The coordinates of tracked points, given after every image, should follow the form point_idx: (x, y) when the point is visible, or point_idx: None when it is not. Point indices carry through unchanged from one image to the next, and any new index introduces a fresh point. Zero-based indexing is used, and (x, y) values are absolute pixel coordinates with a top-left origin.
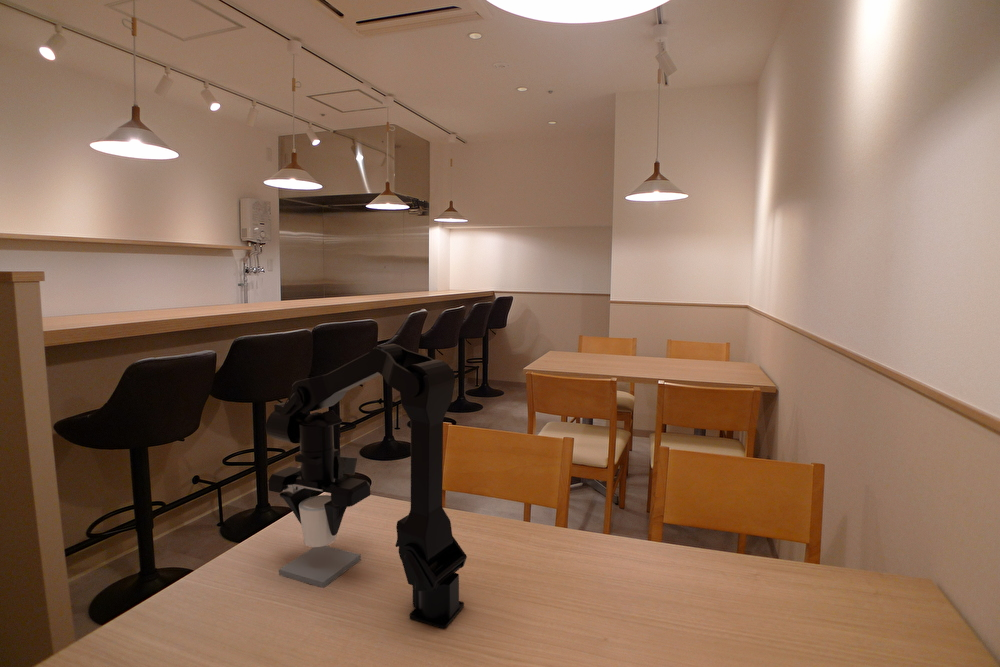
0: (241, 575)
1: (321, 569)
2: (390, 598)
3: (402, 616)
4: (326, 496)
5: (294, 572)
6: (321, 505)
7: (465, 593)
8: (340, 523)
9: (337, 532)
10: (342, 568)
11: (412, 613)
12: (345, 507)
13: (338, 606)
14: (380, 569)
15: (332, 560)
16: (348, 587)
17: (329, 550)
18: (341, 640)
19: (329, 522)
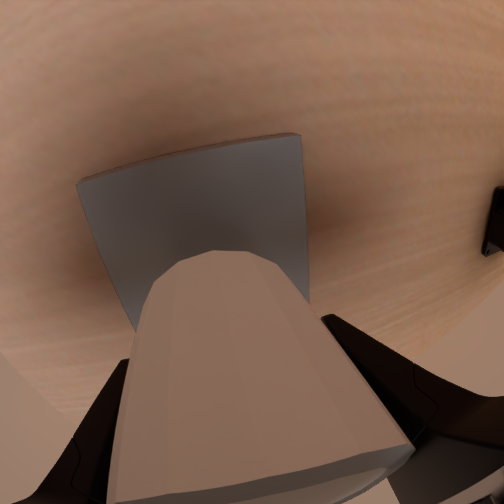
0: (86, 373)
1: None
2: (448, 232)
3: (472, 255)
4: (205, 500)
5: None
6: (316, 502)
7: None
8: (374, 340)
9: (335, 316)
10: (306, 237)
11: (487, 250)
12: (462, 399)
13: (375, 310)
14: (384, 148)
15: (237, 228)
16: (358, 261)
17: (159, 188)
18: (415, 340)
19: None
